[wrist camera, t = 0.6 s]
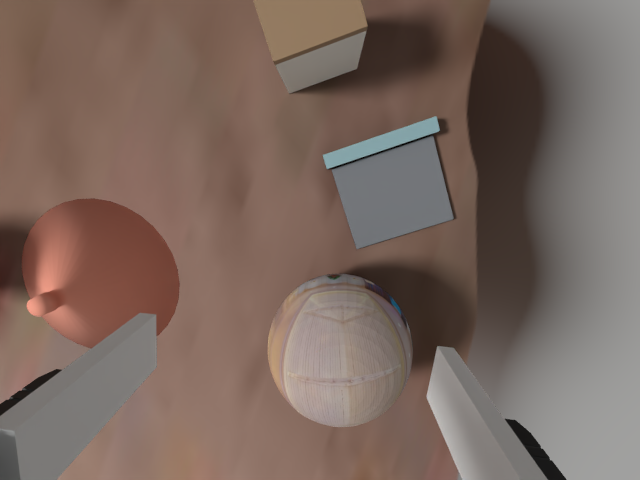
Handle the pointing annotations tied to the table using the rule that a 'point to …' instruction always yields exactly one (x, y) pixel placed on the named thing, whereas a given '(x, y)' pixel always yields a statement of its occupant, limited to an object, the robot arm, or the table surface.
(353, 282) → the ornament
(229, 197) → the table surface
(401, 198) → the mat
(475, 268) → the table surface
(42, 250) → the ceramic vessels
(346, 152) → the strip
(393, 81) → the table surface
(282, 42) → the cream block
